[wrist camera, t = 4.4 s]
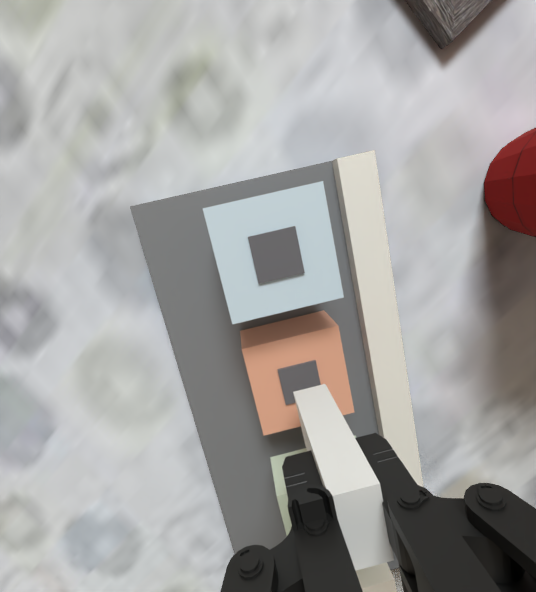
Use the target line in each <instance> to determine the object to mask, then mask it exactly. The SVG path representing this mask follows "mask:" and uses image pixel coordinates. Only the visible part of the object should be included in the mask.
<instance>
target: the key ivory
mask: <svg viewBox="0 0 536 592" xmlns="http://www.w3.org/2000/svg"><path fill="white" fill-rule="evenodd" d="M356 574H357V576H358V579H359V582H360V585H361V588H362V591H363V592H397V590H396V585H395V579H394V577H393V575H392V573H391V570H390V568H389V566H388V564H387V562H386V563H382V564H379V565H375V566H371V567H367V568H364V569H360V570H356Z"/></svg>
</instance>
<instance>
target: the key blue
mask: <svg viewBox="0 0 536 592" xmlns="http://www.w3.org/2000/svg"><path fill="white" fill-rule="evenodd" d="M203 212H204V216H205V220H206V224H207V228H208V232H209V235H210V239H211V243H212V247H213V251H214V255H215V259H216V263H217V267H218V270H219V274H220V278H221V282H222V286H223V290H224V294H225V298H226V302H227V305H228V309H229V313H230V317H231V321H232V324H237V323H241V322H245V321H249V320H253V319H257V318H261V317H265V316H269V315H274V314H278V313H282V312H286V311H290V310H294V309H298V308H302V307H306V306H311V305H315V304H319V303H323V302H327V301H331V300H335V299H339V298H344V295H343V289H342V284H341V278H340V273H339V267H338V262H337V256H336V250H335V245H334V239H333V234H332V228H331V223H330V217H329V211H328V206H327V200H326V195H325V189H324V184H323V181H321V182H316V183H312V184H308V185H303V186H299V187H294V188H290V189H286V190H281V191H277V192H272V193H268V194H264V195H259V196H255V197H251V198H246V199H242V200H237V201H233V202H229V203H224V204H220V205H215V206H211V207H207V208H203Z"/></svg>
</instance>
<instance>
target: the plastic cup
mask: <svg viewBox="0 0 536 592" xmlns="http://www.w3.org/2000/svg"><path fill="white" fill-rule="evenodd" d="M484 188H485V202H486V204H487V206H488V208H489V210H490V213H491V215H492V216H493V217H494V218H495V219H497V220H498V221H499V222H500V223H501V224H502V225H504V226H506V227H508V228H509V229H510V230H514V231H517V232H521V233H524V234H527V235H531V236H534V237H536V128H534V129H532V130H530V131H528V132H526V133H524V134H522V135H521V136H519V137H518V138H516V139H515V140H513V141H511V142H510V143H508V144H507V145H506V146H505V147H503V148H502V149H501V150H500V152H499V153H498V154H497V156H496V157H495V158H494V159H493V161H492V162H491V163H490V166H489V169H488V172H487V175H486V178H485V181H484Z"/></svg>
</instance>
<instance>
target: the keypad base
mask: <svg viewBox="0 0 536 592" xmlns="http://www.w3.org/2000/svg"><path fill="white" fill-rule="evenodd" d="M321 181H323V184H324V189H325V195H326V200H327V206H328V211H329V217H330V223H331V228H332V234H333V239H334V245H335V250H336V256H337V262H338V267H339V273H340V278H341V284H342V289H343V295H344V298H339V299H335V300H331V301H327V302H323V303H319V304H315V305H311V306H306V307H302V308H298V309H294V310H290V311H286V312H282V313H278V314H274V315H269V316H265V317H261V318H257V319H253V320H249V321H245V322H241V323H237V324H232V321H231V317H230V313H229V309H228V305H227V302H226V298H225V294H224V290H223V286H222V282H221V278H220V274H219V270H218V267H217V263H216V259H215V255H214V251H213V247H212V243H211V239H210V235H209V232H208V228H207V224H206V220H205V216H204V212H203V208H207V207H211V206H215V205H220V204H224V203H229V202H233V201H237V200H242V199H246V198H251V197H255V196H259V195H264V194H268V193H272V192H277V191H281V190H286V189H290V188H294V187H299V186H303V185H308V184H312V183H316V182H321ZM130 209H131V212H132V215H133V219H134V222H135V225H136V228H137V232H138V235H139V238H140V242H141V245H142V248H143V252H144V255H145V258H146V262H147V265H148V268H149V272H150V275H151V278H152V282H153V285H154V288H155V291H156V295H157V298H158V301H159V305H160V308H161V311H162V315H163V318H164V321H165V325H166V328H167V331H168V335H169V338H170V341H171V344H172V348H173V351H174V354H175V358H176V361H177V364H178V368H179V371H180V374H181V378H182V381H183V384H184V388H185V391H186V394H187V397H188V401H189V404H190V407H191V411H192V414H193V417H194V421H195V424H196V427H197V431H198V434H199V437H200V441H201V444H202V447H203V450H204V454H205V457H206V460H207V464H208V467H209V470H210V474H211V477H212V480H213V484H214V487H215V490H216V494H217V497H218V500H219V503H220V507H221V510H222V513H223V517H224V520H225V523H226V527H227V530H228V533H229V537H230V540H231V543H232V547H233V550H234V553H235V554H236V553H237V552H238V551H239V550H241V549H243V548H244V547H246V546H250V545H262V546H264V547H266V548H268V549H269V550H270V549H272V548H273V547H275V546H277V545H278V544H279V543H281V542H282V541H283V540H284V539H285V538H286V537H287V535H286V531H285V527H284V523H283V519H282V515H281V512H280V508H279V504H278V500H277V496H276V490H275V484H274V478H273V472H272V465H271V459H270V457H273V456H277V455H281V454H285V453H289V452H293V451H296V450H300V449H304V448H306V446H305V442H304V437H303V433H302V428H301V426H300V427H296V428H292V429H288V430H284V431H280V432H276V433H273V434H269V435H265V436H264V435H263V431H262V427H261V423H260V419H259V415H258V411H257V407H256V403H255V400H254V396H253V392H252V388H251V384H250V380H249V376H248V372H247V368H246V364H245V360H244V356H243V353H242V347H241V336H240V331H241V330H245V329H249V328H253V327H258V326H262V325H266V324H270V323H274V322H278V321H282V320H286V319H290V318H294V317H299V316H303V315H307V314H311V313H315V312H319V311H323V310H324V311H325V312H326V313H327V314H328V315H329V316H330V317H331V318H332V319H333V320H334V321H335V322H336V324H337V325H338V326H339V331H340V337H341V342H342V347H343V353H344V358H345V364H346V369H347V374H348V380H349V385H350V390H351V396H352V401H353V406H354V413H350V414H346V415H343V417H344V419H345V421H346V422H347V424H348V426H349V428H350V430H351V432H352V433H353V435H356V437H361V436H365V435H369V434H373V433H377V434H379V435H380V436H382V437H383V438H385V439H386V440H387V441H388V442H389V444H390V445H391V447H392V449H393V450H394V451H395V453H396V454H397V456H398V457H399V459H400V460H401V461H402V463H403V464H404V466H405V467H406V469H407V470H408V472H409V473H410V475H411V476H412V478H413V479H414V480H415V482H416V483H417V485H419V486H421V487H423V488H424V486H423V480H422V473H421V466H420V459H419V452H418V445H417V438H416V431H415V425H414V418H413V411H412V404H411V397H410V390H409V383H408V376H407V369H406V363H405V356H404V349H403V342H402V335H401V328H400V321H399V314H398V307H397V301H396V294H395V287H394V280H393V273H392V266H391V259H390V252H389V245H388V239H387V232H386V225H385V218H384V211H383V204H382V197H381V190H380V184H379V177H378V170H377V163H376V156H375V150H373V151H368V152H364V153H360V154H355V155H351V156H346V157H342V158H337V159H335V160H333V161H330V162H325V163H321V164H316V165H312V166H308V167H303V168H299V169H294V170H290V171H285V172H281V173H277V174H272V175H268V176H263V177H259V178H254V179H250V180H246V181H241V182H237V183H232V184H228V185H223V186H219V187H215V188H210V189H206V190H201V191H197V192H193V193H188V194H184V195H179V196H175V197H170V198H166V199H162V200H157V201H153V202H148V203H144V204H139V205H135V206H131V207H130ZM392 552H393V558H394V560H393V561H390V562H387V564H388V566H389V568H390V570H392V569H396V568H399V563H398V560H397V558H396V556H395V553H394V551H393V549H392Z"/></svg>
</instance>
